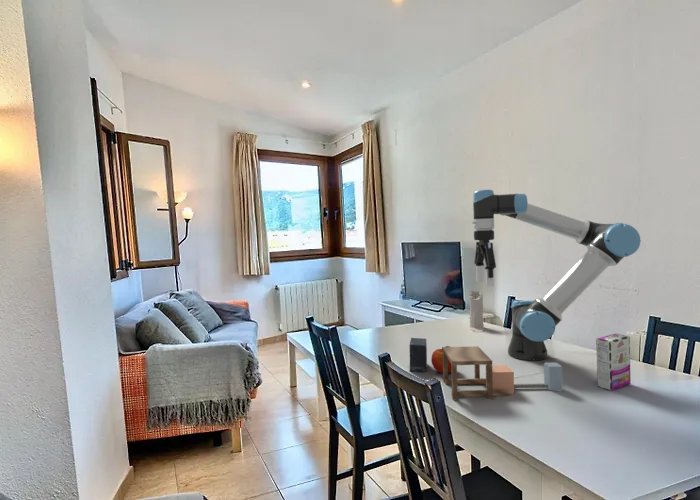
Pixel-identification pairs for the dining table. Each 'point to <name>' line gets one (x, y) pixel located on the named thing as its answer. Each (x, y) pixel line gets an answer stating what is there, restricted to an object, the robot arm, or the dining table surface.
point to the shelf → (475, 358)
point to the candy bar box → (613, 361)
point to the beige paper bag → (476, 311)
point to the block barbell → (505, 381)
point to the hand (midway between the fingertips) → (484, 284)
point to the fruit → (439, 360)
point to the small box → (418, 354)
